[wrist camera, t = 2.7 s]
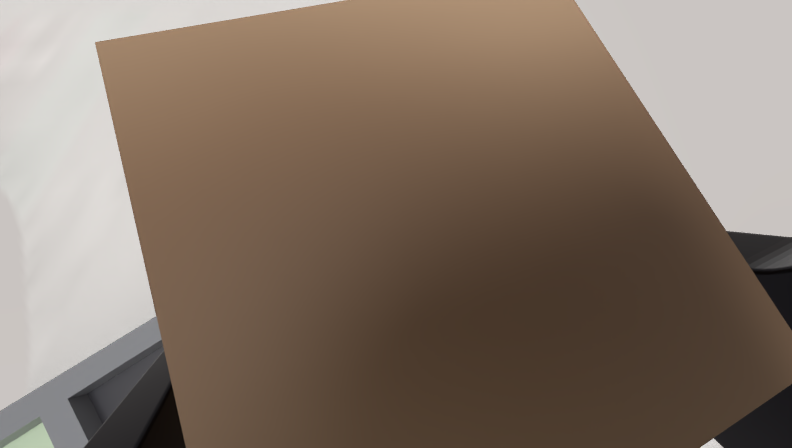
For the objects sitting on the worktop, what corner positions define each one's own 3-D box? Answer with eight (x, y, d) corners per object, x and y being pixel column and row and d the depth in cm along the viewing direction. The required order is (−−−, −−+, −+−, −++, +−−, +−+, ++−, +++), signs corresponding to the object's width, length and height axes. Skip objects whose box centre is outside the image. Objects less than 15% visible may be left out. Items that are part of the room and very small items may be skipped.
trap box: (378, 191, 20) (380, 180, 18) (486, 337, 18) (498, 337, 17) (-181, 535, 12) (-248, 561, 11) (-81, 831, 11) (-145, 908, 9)
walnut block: (427, 337, 17) (814, 367, 3) (332, 380, 16) (254, 756, 2) (390, 247, 18) (551, -34, 4) (299, 281, 17) (95, 42, 3)
